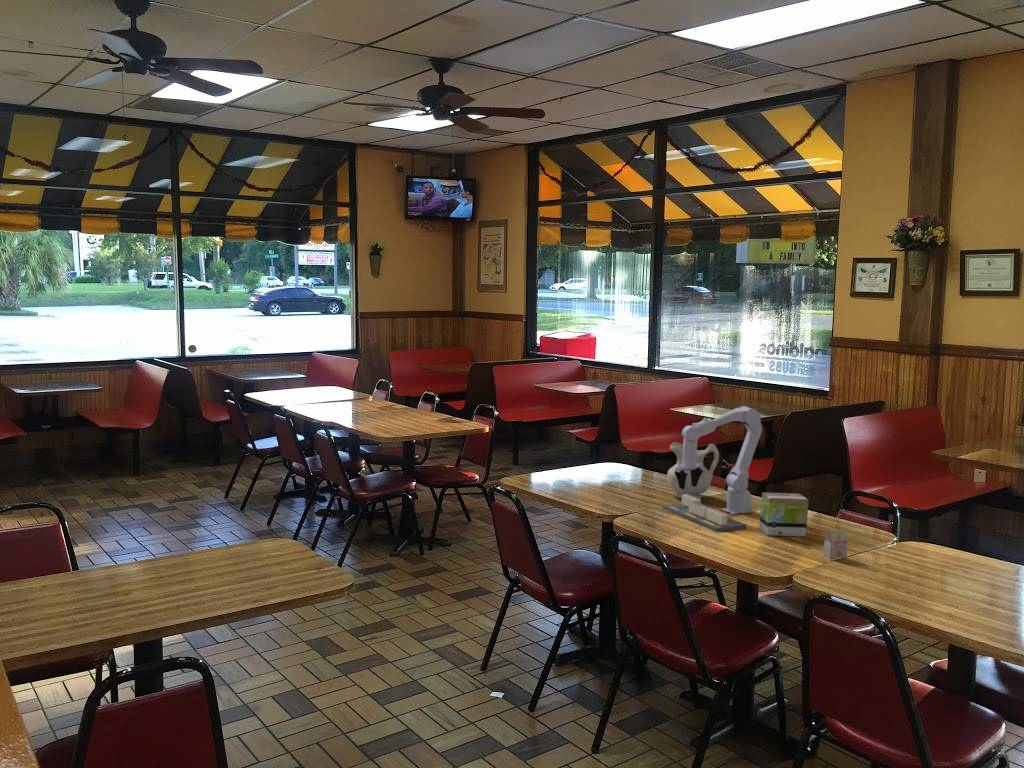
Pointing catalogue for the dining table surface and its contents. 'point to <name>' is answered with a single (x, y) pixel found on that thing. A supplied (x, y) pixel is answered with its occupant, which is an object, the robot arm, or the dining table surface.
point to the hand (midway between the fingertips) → (688, 487)
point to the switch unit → (685, 513)
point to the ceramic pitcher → (703, 480)
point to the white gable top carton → (835, 544)
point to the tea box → (783, 514)
